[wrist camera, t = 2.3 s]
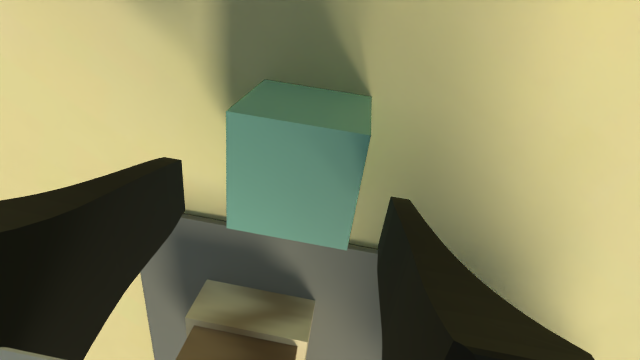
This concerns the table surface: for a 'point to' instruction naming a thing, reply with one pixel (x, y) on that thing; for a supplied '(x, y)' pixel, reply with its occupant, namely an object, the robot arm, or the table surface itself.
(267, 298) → the birch slab
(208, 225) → the charcoal mat
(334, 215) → the teal cube
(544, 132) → the table surface
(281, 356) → the walnut slab
